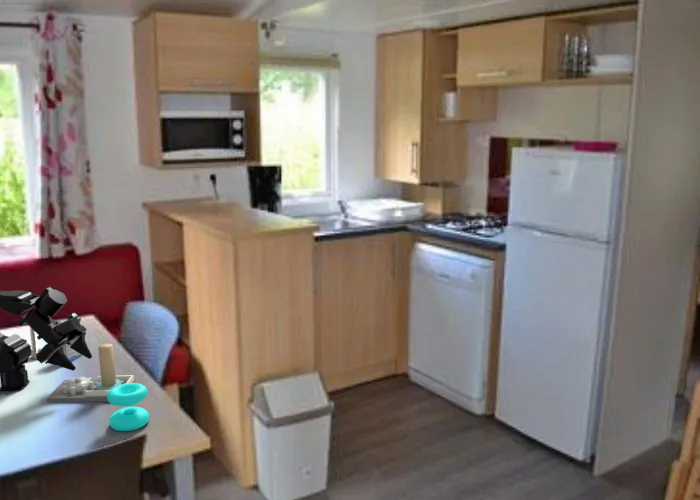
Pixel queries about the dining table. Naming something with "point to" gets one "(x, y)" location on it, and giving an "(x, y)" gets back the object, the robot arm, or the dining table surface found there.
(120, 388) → the donuts
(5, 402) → the dining table surface
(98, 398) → the carrier plate
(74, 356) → the medicine box
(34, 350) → the screw
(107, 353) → the gear
